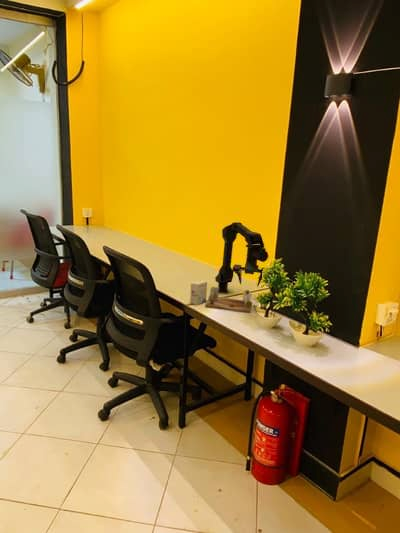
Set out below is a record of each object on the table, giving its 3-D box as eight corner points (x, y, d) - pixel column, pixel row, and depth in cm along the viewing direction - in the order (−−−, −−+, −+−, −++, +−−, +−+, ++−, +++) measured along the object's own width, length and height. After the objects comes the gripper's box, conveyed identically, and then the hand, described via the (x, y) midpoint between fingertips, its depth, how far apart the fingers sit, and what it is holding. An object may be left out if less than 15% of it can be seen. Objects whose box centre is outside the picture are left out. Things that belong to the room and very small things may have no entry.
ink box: (199, 299, 221) (200, 279, 218) (206, 301, 218) (208, 281, 215) (189, 303, 214) (190, 282, 211) (196, 305, 211) (198, 284, 208)
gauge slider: (243, 301, 218) (244, 289, 216) (250, 302, 217) (251, 290, 215) (241, 306, 209) (242, 294, 207) (248, 307, 208) (250, 295, 206)
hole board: (209, 299, 222) (209, 294, 221) (251, 305, 218) (252, 300, 217) (204, 307, 210) (205, 302, 209) (249, 313, 206) (250, 308, 205)
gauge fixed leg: (211, 296, 221) (212, 286, 220) (218, 297, 220) (219, 287, 219) (208, 302, 212) (208, 291, 211) (215, 303, 211) (216, 292, 210)
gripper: (232, 258, 200) (229, 287, 204) (268, 262, 196) (265, 292, 200) (235, 253, 211) (232, 281, 215) (270, 258, 207) (267, 286, 211)
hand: (249, 285), depth 210 cm, fingers open, 9 cm apart
